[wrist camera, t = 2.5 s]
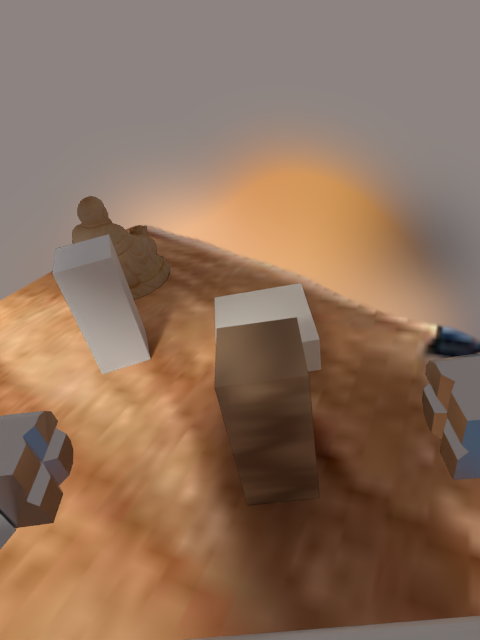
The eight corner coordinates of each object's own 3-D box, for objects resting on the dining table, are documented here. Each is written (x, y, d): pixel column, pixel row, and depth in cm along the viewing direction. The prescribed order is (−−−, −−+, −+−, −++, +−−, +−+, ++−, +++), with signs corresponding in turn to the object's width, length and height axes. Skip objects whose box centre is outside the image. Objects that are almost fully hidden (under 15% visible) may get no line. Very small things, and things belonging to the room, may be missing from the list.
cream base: (224, 387, 40) (216, 356, 37) (221, 327, 47) (214, 297, 45) (321, 372, 39) (319, 339, 37) (303, 313, 47) (300, 283, 44)
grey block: (102, 374, 44) (52, 273, 36) (101, 344, 47) (55, 248, 40) (150, 359, 44) (111, 257, 37) (145, 331, 48) (108, 234, 41)
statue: (16, 245, 46) (45, 184, 52) (79, 319, 57) (97, 262, 63) (123, 235, 44) (141, 173, 50) (166, 314, 55) (177, 256, 61)
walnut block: (247, 505, 30) (214, 387, 23) (245, 445, 34) (216, 328, 27) (319, 497, 30) (308, 375, 22) (308, 437, 34) (296, 317, 26)
